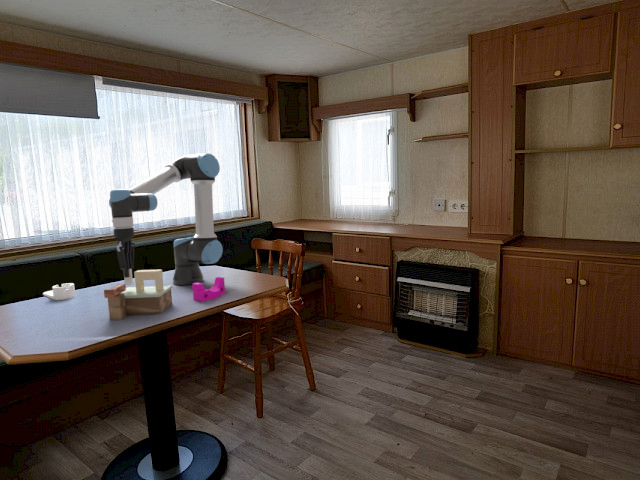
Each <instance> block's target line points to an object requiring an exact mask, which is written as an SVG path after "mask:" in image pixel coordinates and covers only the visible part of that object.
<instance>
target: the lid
mask: <svg viewBox="0 0 640 480" xmlns="http://www.w3.org/2000/svg"><path fill="white" fill-rule="evenodd" d="M133 273H134V280H135V281H134V282H135V286H127V287H126V290H125V291H124V292H122V293H124V295H125V298H146V297H160V296H161V295H163V294H164V293H166V292H167V291H169V290H170V289H171V290H172V289H173V285H164V279H163V278H164V277H163V276H164V275H163V269H137V270H136V271H134V272H133ZM153 280H154V283H155V284H154V285H153V286H151V285H150V286H145V283H144V281H153Z"/></svg>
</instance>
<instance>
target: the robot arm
mask: <svg viewBox="0 0 640 480" xmlns="http://www.w3.org/2000/svg"><path fill="white" fill-rule="evenodd" d="M220 169H221V166H220V163H219V161H218V159H217V158H216V156H215V155H213V154H212V153H208V152H207V153H206V152H201V153H194V154H184V155H183V156H180V157H178V158H177V159H175V160H173V161H171V162H169V163H167V164H166V165H165V167H164V168H163V169H161V170H160V171H158V172H157V173H155V174H154V175H153V174H152V175H151V176H150V177H147V179H144V180H142V181H141V182H140V183H137V184H136V185H134V186H132V187H131V188H129V189H127V188H125V189H112V190H110V192H109V193H110V194H109V200H108V205H109V207H110V208H111V217H112V220H111V222H112V227H113V228H114V229H113V230H112V231H113V237H114V238H115V239H117V246H114V250H115V252H116V256H117V260H118V264H119V269H120V270H122V271H123V279H124V284H125V286H132V285H134V280H133V270H132V269H134V268H135V245H136V244H135V242H133V241H132V238H134V236H135V230H134V229H135V228H134V218H133V217H134V216H133V215H134V214H133V213H137V212H140V213H141V212H150V211H154V210H156V209H157V208H158V198H157V196H156V194H157V193H158V192H160V191H162V190H164V189H165V188H167V187H168V186H170V185H171V184H173V183H179V182H180V181H182V180H186V179H190V183H192V184H193V189H194V190H193V192H194V216H195V217H194V219H195V220H194V221H195V234H194V235H193V236H189V237H184V238H183V237H182V238H177V239H175V240H174V241H173V255H174V264H175V265H174V266H175V269H174V274H173V276H172V277H173V278H172V283H173V284H174V285H178V286H179V285H181V286H183V285H184V286H185V285H192V284H193V283H203V281H204V274H203V273H202V272H203V271H202V270H201V268H200V264H205V265H210V264H216V263H217V262H218V261H219V260H220V259H221V258H222V256H223V252H224V251H223V245H222V243H221V242H220V241H219V240H218V236H217V235H216V233H215V232H214V231H215V228H214V227H215V226H214V204H213V202H214V201H213V184H214V183H215V182H216V177H217V176H218V175H219V173H220Z"/></svg>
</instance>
